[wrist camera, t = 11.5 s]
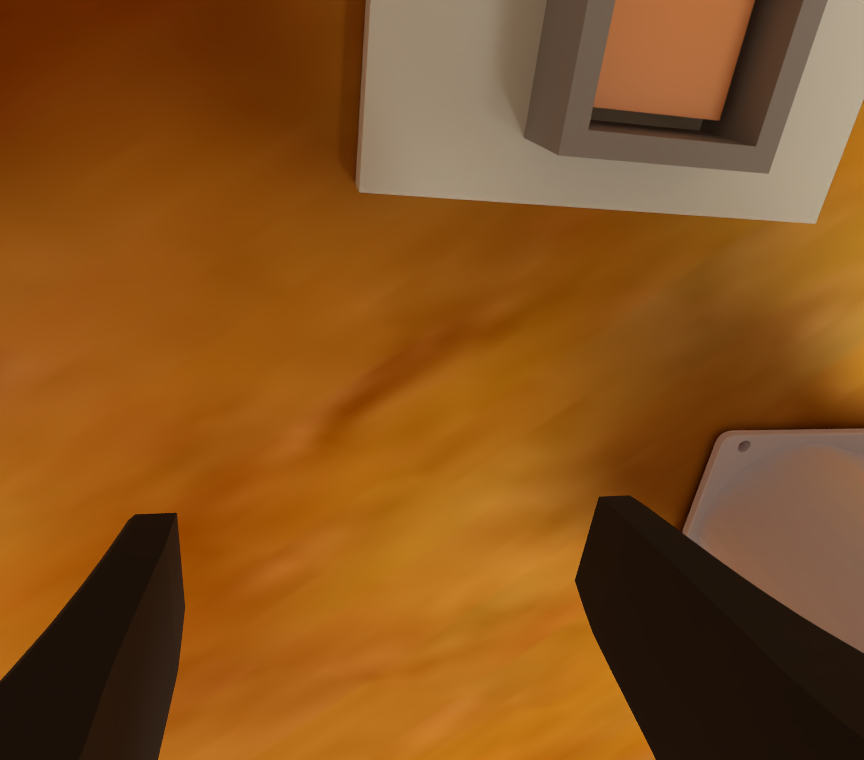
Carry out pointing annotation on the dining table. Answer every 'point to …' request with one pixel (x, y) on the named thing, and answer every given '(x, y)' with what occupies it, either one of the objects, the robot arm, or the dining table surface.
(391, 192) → the panel
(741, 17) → the button
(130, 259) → the dining table surface
